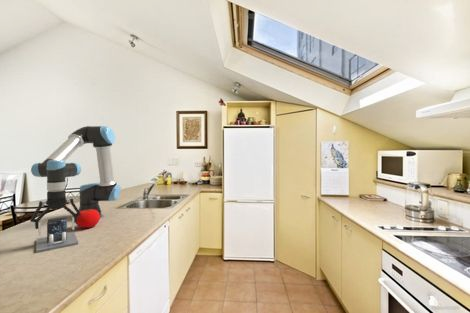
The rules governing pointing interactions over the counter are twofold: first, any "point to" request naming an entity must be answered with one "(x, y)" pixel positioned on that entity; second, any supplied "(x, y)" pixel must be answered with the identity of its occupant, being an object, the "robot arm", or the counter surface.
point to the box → (56, 228)
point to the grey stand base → (56, 242)
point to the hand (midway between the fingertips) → (56, 232)
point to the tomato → (88, 218)
